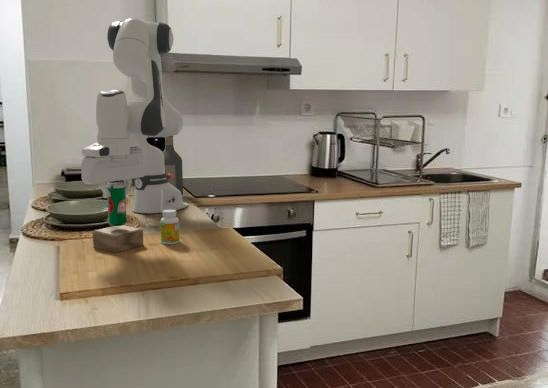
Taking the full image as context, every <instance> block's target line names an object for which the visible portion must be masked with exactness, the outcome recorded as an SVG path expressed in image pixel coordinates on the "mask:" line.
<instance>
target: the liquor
mask: <svg viewBox="0 0 548 388" xmlns="http://www.w3.org/2000/svg"><path fill="white" fill-rule="evenodd" d="M164 140H165V141H164V142H165V143H164V145H165V146H164V150H163V151H162V152H163V154H164V164H165V173H166V174H168V173H169V174H172V176H173V178H172V179H170V178H169V179H168V181H169V183H170V184H171V185H173V186H174V187H175V188H177V189H178V190H179V191H180V192H181V194H182V196H183V195H184V185H183V183H184V182H183V181H184V180H183V179H184V178H183V159H182V157H181V155H180V154H179V153H178V152H177V151H176V150H175V147H174V146H175V145H174V135H173V136H169V137H164Z"/></svg>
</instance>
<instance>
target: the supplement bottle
mask: <svg viewBox="0 0 548 388" xmlns="http://www.w3.org/2000/svg"><path fill="white" fill-rule="evenodd" d="M162 216H163V217H162V218H161V219H160V240H161V244H162V245H163V244H164V245H176V244H178V243H180V219H179V218H178V217H177V210H172V209H169V210H163V213H162Z"/></svg>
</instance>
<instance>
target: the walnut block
mask: <svg viewBox="0 0 548 388" xmlns="http://www.w3.org/2000/svg"><path fill="white" fill-rule="evenodd" d="M92 244H93V248H94V247H96V248H95V249H98V248H99V250H103V251H106V252H110V251H111V253H114V252H115V254H117V252H118V253H120V251H121V252H124V250H125V251H128V250H131V249H130V248H132V249H134V247H135V248H138V247H137V246H139V247H141V246H140V245H143V246H144V230H143V229H142V228H139V227H134V226H129V225H122V226H108V227H105V228H104V227H103V228H99V229H95V230H94V231H92ZM127 249H128V250H127Z"/></svg>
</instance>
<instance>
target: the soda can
mask: <svg viewBox="0 0 548 388" xmlns="http://www.w3.org/2000/svg"><path fill="white" fill-rule="evenodd" d="M124 184H125V182H108V186H106V187H107V189H108V191H110V192H111V197H110V198H107V219H108V221H107V222H108V225H109V226H110V227H112V226H122V225H124V226H126V224H127V197H126V196H127V195H126V189H125V186H124Z"/></svg>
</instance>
